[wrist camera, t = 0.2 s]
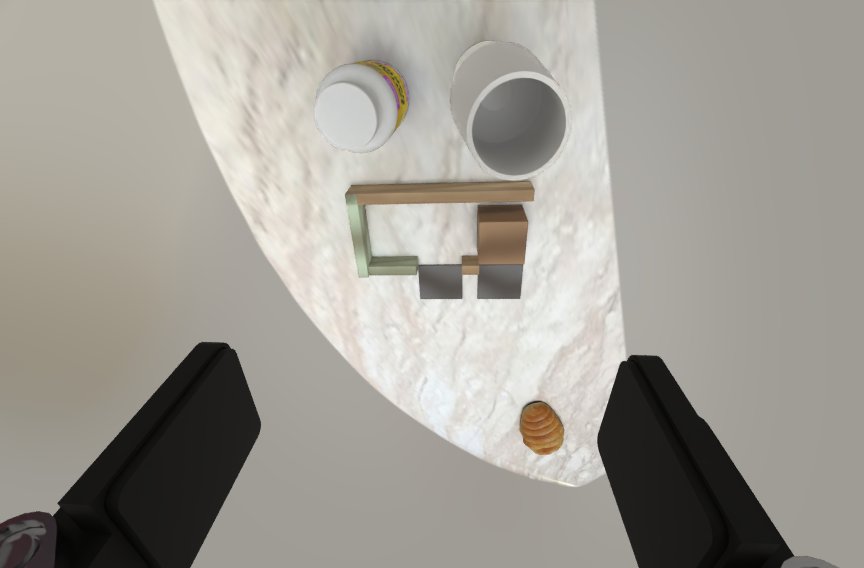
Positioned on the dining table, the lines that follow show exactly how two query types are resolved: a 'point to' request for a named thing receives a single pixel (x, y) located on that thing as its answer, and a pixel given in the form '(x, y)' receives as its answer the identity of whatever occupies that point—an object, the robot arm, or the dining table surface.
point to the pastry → (541, 429)
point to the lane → (432, 278)
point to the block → (501, 234)
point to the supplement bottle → (360, 105)
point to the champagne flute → (509, 110)
